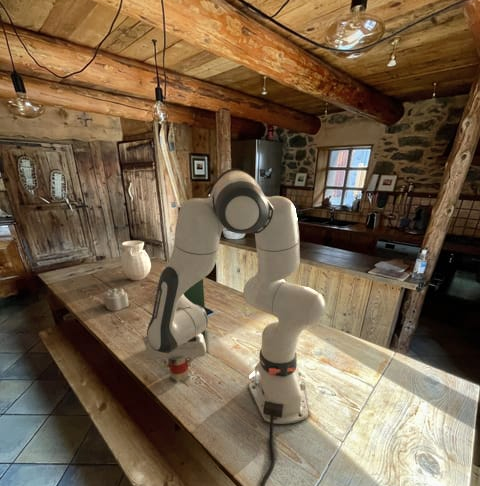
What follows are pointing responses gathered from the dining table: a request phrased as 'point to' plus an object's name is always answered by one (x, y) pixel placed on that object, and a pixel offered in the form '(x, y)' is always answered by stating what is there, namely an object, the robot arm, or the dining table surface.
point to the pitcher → (135, 260)
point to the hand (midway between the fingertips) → (178, 365)
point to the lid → (196, 294)
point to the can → (178, 367)
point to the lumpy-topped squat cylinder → (116, 299)
